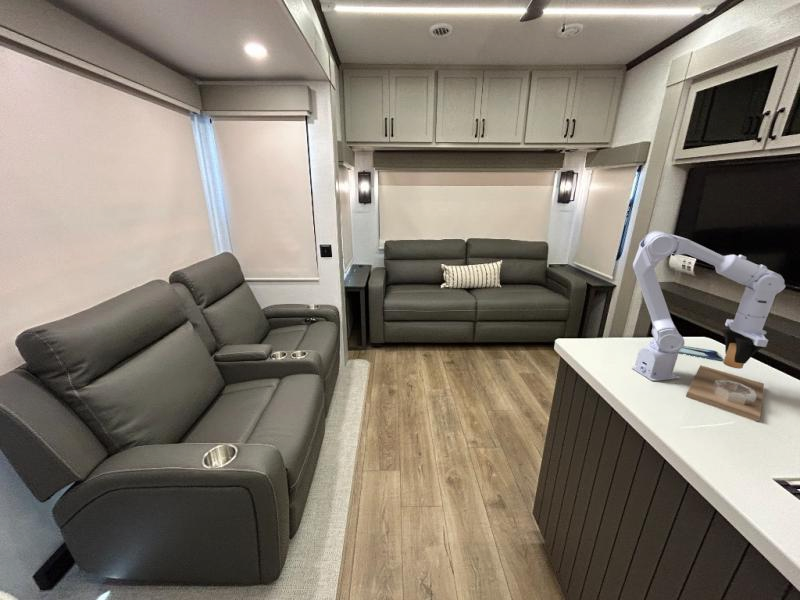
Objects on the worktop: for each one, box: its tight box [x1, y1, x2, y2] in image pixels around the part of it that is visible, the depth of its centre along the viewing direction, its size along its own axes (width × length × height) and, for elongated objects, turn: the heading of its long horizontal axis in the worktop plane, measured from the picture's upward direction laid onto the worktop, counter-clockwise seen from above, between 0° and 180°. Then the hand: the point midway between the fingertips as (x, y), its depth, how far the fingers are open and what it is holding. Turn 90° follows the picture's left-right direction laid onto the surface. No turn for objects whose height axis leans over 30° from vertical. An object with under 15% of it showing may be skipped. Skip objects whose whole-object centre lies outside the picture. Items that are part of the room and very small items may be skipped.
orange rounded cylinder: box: [722, 343, 745, 369], centre depth 93 cm, size 4×4×6 cm
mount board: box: [685, 364, 765, 423], centre depth 93 cm, size 22×14×2 cm, turn 132°
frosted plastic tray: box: [713, 380, 757, 405], centre depth 89 cm, size 8×8×2 cm
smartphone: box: [678, 345, 724, 362], centre depth 117 cm, size 7×1×15 cm
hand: (735, 358), depth 93 cm, fingers closed on orange rounded cylinder, 4 cm apart
